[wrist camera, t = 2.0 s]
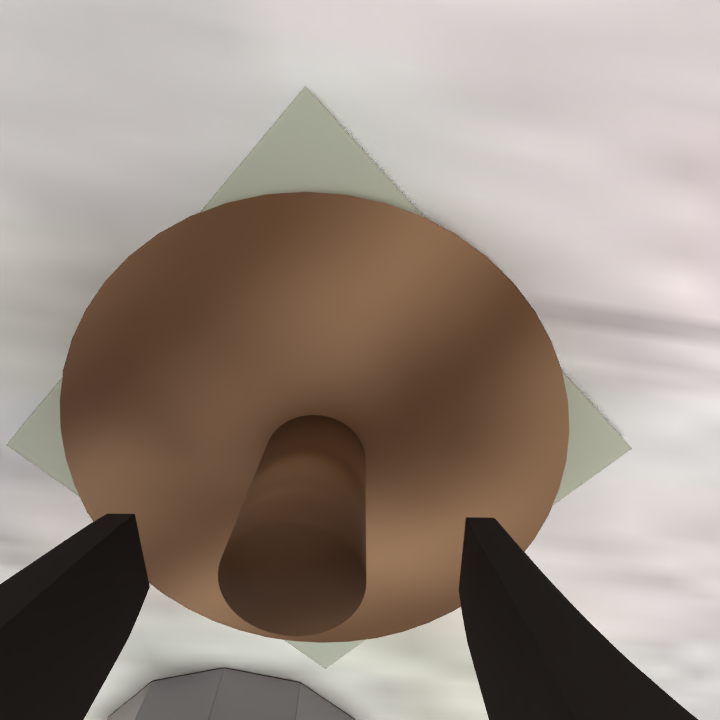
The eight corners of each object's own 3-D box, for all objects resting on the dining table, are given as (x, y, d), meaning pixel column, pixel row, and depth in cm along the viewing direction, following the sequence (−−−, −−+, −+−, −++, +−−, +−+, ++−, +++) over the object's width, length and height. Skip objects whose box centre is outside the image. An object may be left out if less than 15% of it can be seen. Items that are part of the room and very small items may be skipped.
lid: (-16, 444, 14) (-229, 577, 9) (304, 52, 10) (249, -95, 5) (325, 680, 17) (310, 873, 12) (653, 448, 14) (820, 585, 9)
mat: (20, 435, 14) (6, 444, 14) (308, 92, 11) (305, 86, 11) (326, 653, 18) (325, 668, 17) (621, 439, 14) (632, 448, 14)
